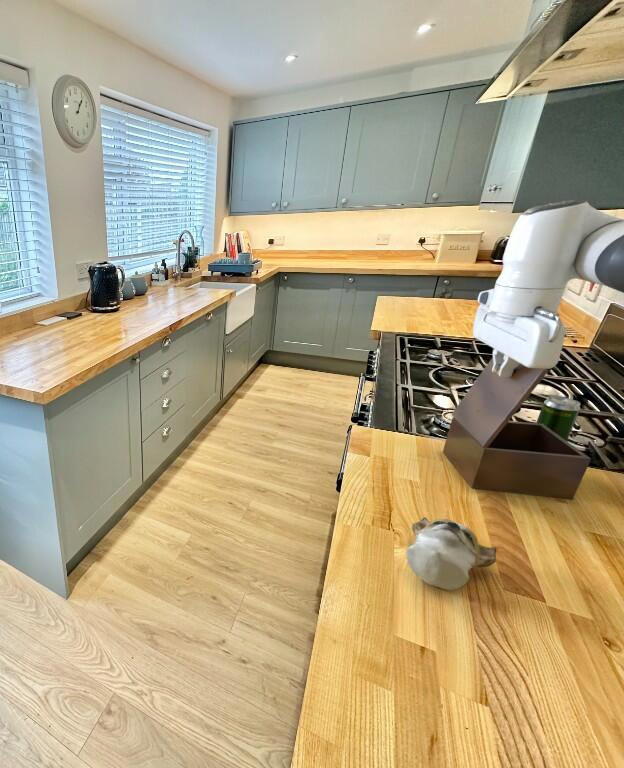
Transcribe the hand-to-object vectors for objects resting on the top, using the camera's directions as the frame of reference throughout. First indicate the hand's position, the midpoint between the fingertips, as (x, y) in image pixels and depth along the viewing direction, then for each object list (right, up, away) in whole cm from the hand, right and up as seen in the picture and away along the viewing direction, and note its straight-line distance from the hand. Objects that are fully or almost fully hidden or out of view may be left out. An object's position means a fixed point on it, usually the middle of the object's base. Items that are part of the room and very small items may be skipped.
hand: (500, 375), depth 78 cm
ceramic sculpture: (-23, -30, -14) cm, 40 cm away
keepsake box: (+6, -20, +6) cm, 22 cm away
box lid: (+1, -4, +2) cm, 4 cm away
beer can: (+22, -17, +13) cm, 31 cm away
